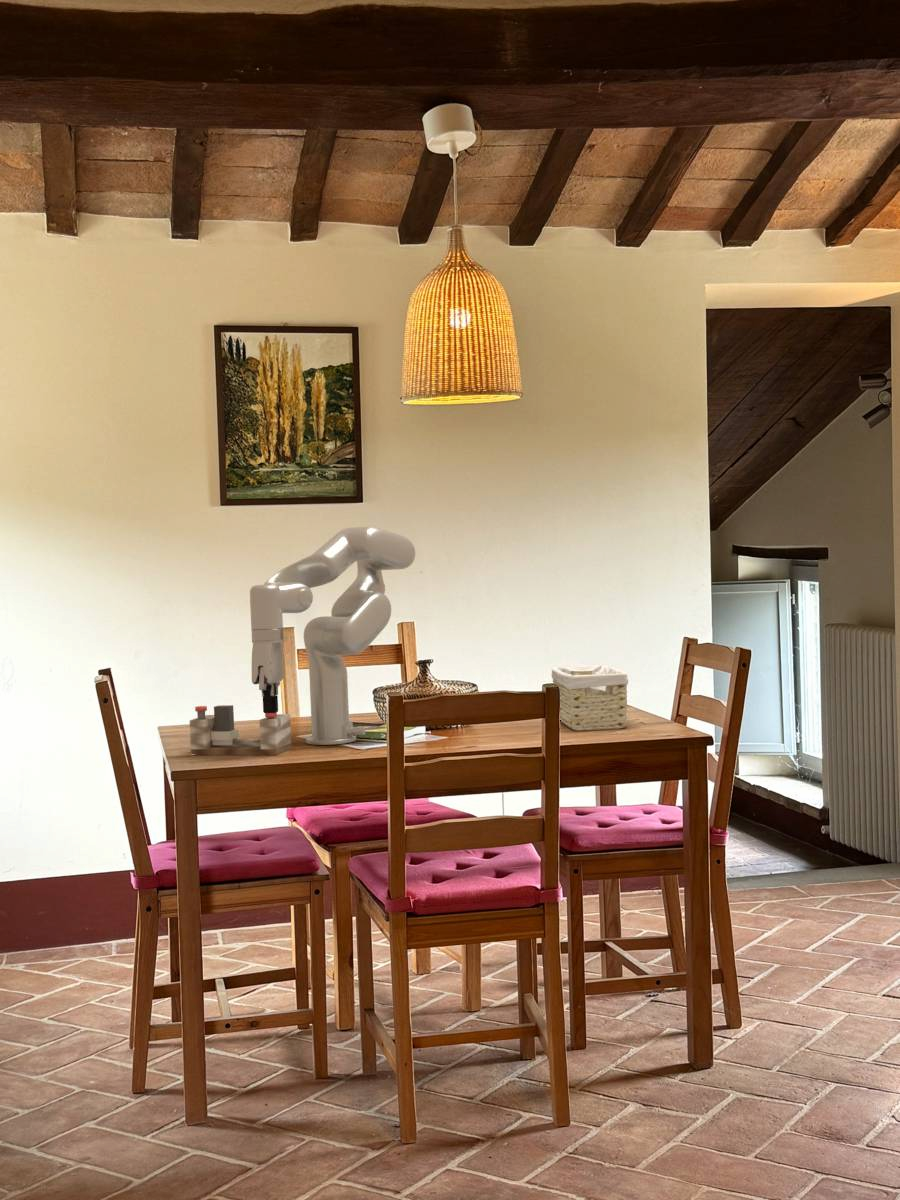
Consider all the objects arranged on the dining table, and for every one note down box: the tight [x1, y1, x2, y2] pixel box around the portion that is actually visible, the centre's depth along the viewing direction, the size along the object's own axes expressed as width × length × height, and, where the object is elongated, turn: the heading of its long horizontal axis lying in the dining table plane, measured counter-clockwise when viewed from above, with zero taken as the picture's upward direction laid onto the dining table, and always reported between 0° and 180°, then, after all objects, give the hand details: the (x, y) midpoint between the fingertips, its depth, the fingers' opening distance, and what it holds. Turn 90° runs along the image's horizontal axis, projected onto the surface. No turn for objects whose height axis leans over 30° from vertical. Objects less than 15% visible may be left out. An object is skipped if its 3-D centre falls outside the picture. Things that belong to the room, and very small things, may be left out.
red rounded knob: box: [194, 705, 208, 720], centre depth 314 cm, size 3×3×4 cm
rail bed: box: [189, 713, 292, 756], centre depth 315 cm, size 22×10×8 cm, turn 77°
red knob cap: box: [264, 712, 278, 719], centre depth 310 cm, size 3×3×4 cm
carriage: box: [211, 704, 239, 745], centre depth 316 cm, size 5×5×9 cm
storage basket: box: [551, 663, 629, 732], centre depth 340 cm, size 24×16×15 cm
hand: (270, 712), depth 310 cm, fingers closed
